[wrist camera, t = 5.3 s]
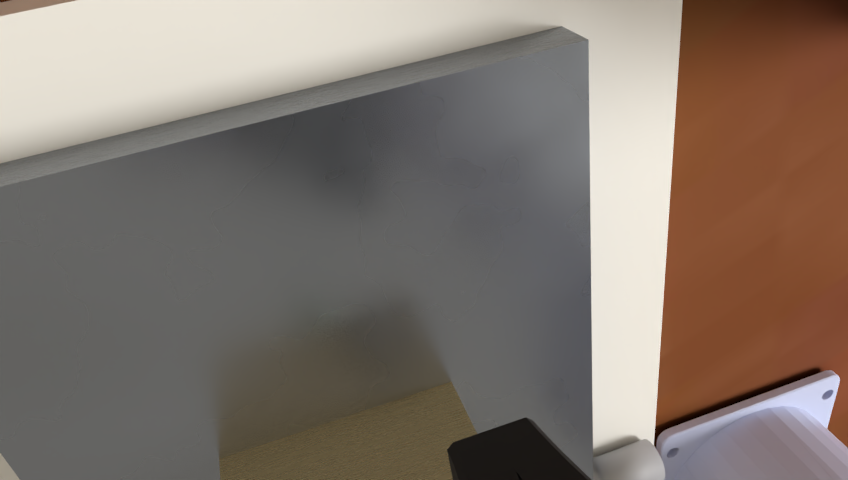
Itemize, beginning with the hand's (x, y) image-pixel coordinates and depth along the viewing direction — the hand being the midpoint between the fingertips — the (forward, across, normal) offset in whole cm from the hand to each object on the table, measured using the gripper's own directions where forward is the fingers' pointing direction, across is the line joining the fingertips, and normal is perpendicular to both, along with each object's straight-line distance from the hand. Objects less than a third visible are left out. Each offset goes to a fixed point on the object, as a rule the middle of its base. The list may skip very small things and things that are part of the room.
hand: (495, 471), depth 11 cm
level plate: (+7, +2, +3) cm, 8 cm away
